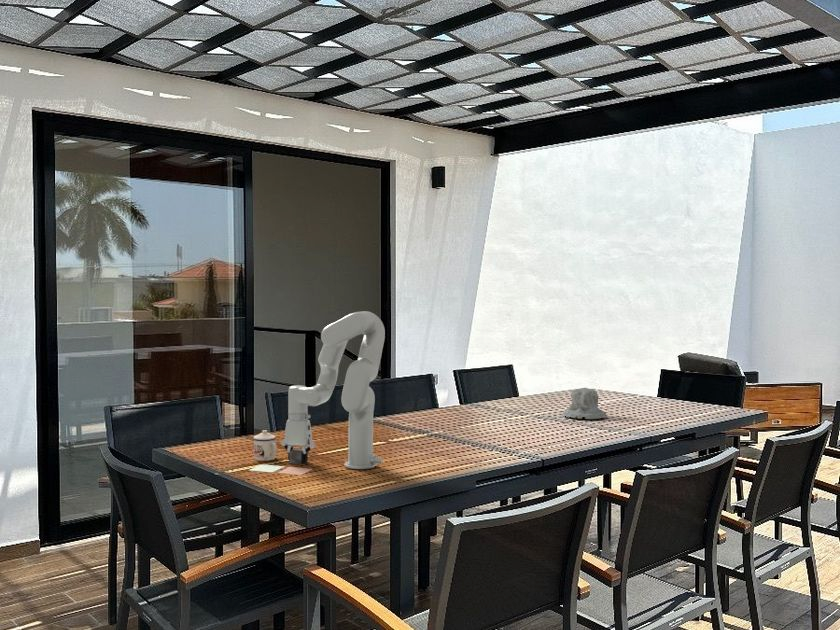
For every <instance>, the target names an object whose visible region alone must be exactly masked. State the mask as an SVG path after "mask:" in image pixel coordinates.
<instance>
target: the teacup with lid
mask: <svg viewBox="0 0 840 630" xmlns="http://www.w3.org/2000/svg"><path fill="white" fill-rule="evenodd" d="M276 439H277V437H276V435H274V434H271V433H270V432H268V430H266V429H265V430H264V429H263V430H262V431H261V432H260V433H258V434H257V435H254V436H253V438H252V440H253V460H255V461H260V462H261V461H263V462H264V461H265V462H266V461H268V462H269V461H272V460H275V459H276V455H277V453H278V445H277V443H276Z"/></svg>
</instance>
